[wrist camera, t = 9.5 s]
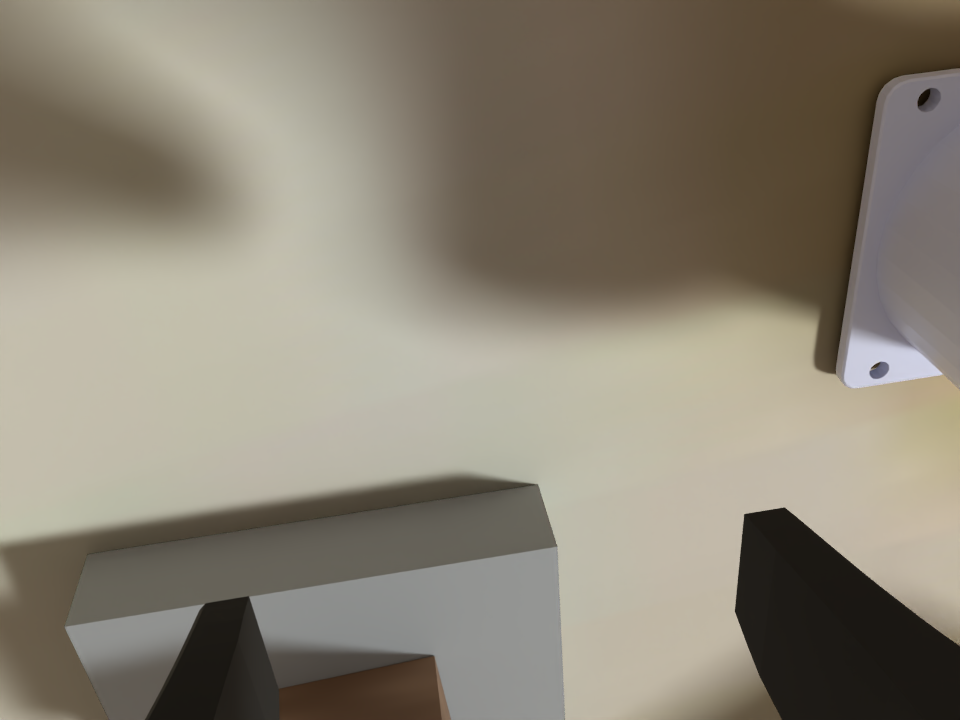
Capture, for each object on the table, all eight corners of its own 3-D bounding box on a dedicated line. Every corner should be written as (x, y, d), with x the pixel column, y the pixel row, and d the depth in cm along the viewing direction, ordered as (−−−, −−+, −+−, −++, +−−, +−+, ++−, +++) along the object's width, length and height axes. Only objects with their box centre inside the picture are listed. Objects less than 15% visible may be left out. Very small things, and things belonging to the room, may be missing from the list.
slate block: (533, 471, 25) (557, 546, 22) (550, 737, 31) (569, 819, 29) (91, 539, 24) (64, 626, 21) (202, 800, 30) (190, 890, 28)
